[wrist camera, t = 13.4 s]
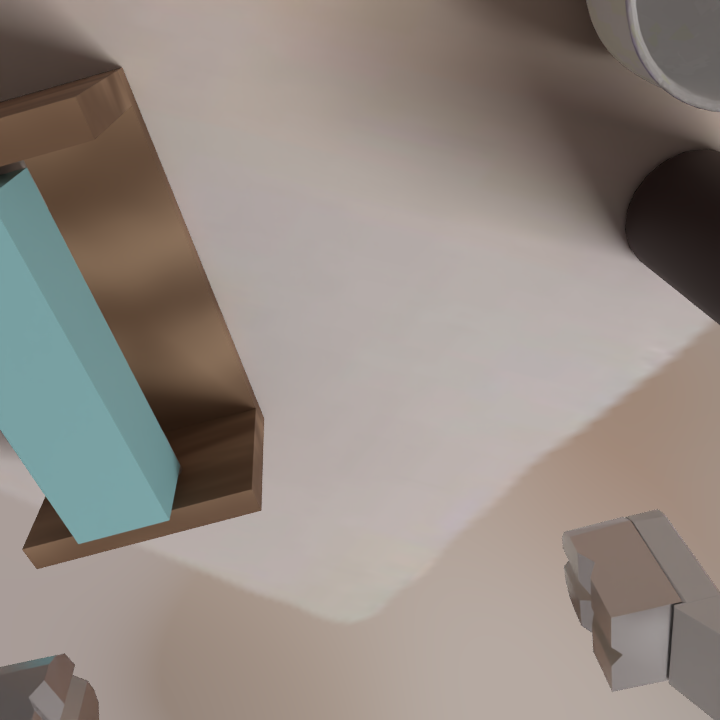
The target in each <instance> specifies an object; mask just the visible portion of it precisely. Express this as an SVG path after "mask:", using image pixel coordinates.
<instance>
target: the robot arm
mask: <svg viewBox="0 0 720 720" xmlns="http://www.w3.org/2000/svg"><path fill="white" fill-rule="evenodd" d="M562 543H563V549H564V552H565V554H566V556H567V558H568V560H569V561H568V562H567V564H566V565H565V566H564V570H565V578H566V584H567V588H568V592H569V596H570V599H571V602H572V604H573V607H574V610H575V612H576V614H577V617H578V619H579V621H580V623H581V625H582V626H583V627H584V628H586V629H587V630H589V631H590V632H592V636H593V652H594V654H595V656H596V658H597V660H598V662H599V665H600V667H601V669H602V671H603V673H604V675H605V677H606V680H607V682H608V684H609V686H610V688H611V690H612V691H618V690H623V689H628V688H633V687H638V686H643V685H647V684H652V683H657V682H662V681H666V680H669V684H670V685H671V686H673V687H674V688H675V689H676V690H678V691H679V692H680V693H681V694H683V695H684V696H685V697H686V698H688V699H689V700H690V701H692V702H693V703H694V704H695V705H696V706H698V707H699V708H700V709H701V710H703V711H704V712H705V713H706V714H708V715H709V716H710V717H711V718H713V719H714V720H720V591H719V590H718V588H717V587H716V586H715V584H714V583H713V581H712V580H711V579H710V577H709V576H708V574H707V573H706V572H705V570H704V569H703V567H702V566H701V565H700V563H699V562H698V561H697V559H696V558H695V556H694V555H693V553H692V552H691V551H690V549H689V548H688V546H687V545H686V544H685V542H684V541H683V539H682V538H681V536H680V535H679V534H678V532H677V531H676V530H675V528H674V527H673V525H672V524H671V522H670V521H669V520H668V518H667V517H666V515H665V514H664V513H663V512H661V511H660V510H658V509H657V510H652V511H648V512H644V513H640V514H636V515H632V516H628V517H625V518H624V517H620V518H617V519H613V520H609V521H605V522H601V523H597V524H593V525H589V526H586V527H582V528H578V529H574V530H570V531H566V532H564V533H563V536H562ZM74 667H75V664H74V663H73V662H72V661H71V660H70V659H69V658H68V656H67V655H66V654H60V655H55V656H51V657H46V658H41V659H36V660H31V661H27V662H22V663H17V664H12V665H8V666H4V667H0V720H99V702H98V699H97V696H96V694H95V691H94V689H93V687H92V686H91V685H90V683H89V682H88V681H87V680H84V679H82V678H79V677H76V676H74V675H73V671H74Z"/></svg>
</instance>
